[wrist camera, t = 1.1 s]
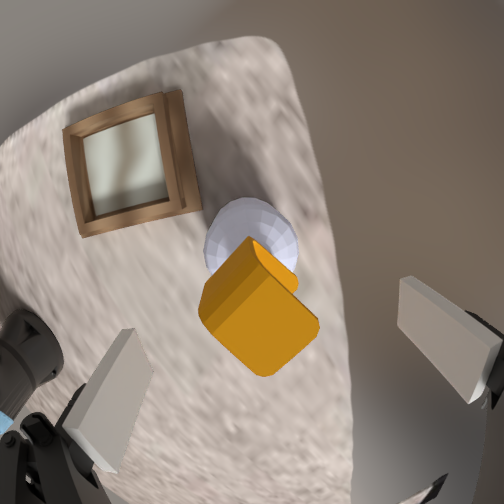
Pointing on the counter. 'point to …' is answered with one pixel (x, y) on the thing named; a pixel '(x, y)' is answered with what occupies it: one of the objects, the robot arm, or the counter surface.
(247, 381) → the counter surface
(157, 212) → the picture frame
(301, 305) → the orange capped white bottle
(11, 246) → the counter surface
